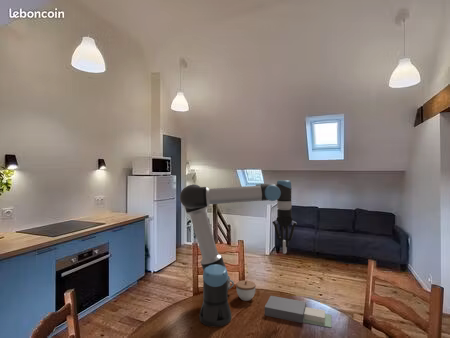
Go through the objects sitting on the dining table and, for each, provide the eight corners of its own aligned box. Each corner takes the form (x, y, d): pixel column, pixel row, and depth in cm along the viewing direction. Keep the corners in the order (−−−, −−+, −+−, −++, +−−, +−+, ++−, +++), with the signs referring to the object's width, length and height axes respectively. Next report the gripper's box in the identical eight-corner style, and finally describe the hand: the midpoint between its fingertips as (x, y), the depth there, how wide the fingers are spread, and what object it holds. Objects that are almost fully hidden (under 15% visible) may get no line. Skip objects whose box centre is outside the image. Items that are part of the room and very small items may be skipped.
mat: (303, 322, 121) (303, 321, 121) (305, 310, 131) (305, 310, 131) (331, 327, 116) (331, 327, 116) (331, 315, 126) (331, 314, 126)
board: (264, 315, 127) (264, 306, 127) (270, 303, 139) (270, 295, 139) (303, 323, 120) (302, 314, 120) (305, 309, 132) (305, 301, 132)
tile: (304, 319, 123) (304, 313, 123) (305, 311, 129) (305, 306, 129) (324, 323, 119) (324, 317, 119) (325, 315, 126) (325, 310, 126)
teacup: (208, 290, 154) (208, 277, 154) (221, 285, 162) (221, 272, 162) (225, 298, 145) (225, 283, 145) (238, 291, 153) (238, 278, 153)
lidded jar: (253, 304, 138) (253, 286, 138) (233, 301, 141) (233, 283, 142) (257, 295, 148) (257, 278, 149) (239, 292, 152) (239, 276, 152)
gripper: (297, 208, 142) (298, 252, 141) (273, 207, 147) (274, 249, 146) (295, 210, 135) (296, 256, 134) (270, 209, 140) (271, 253, 139)
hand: (284, 252), depth 140 cm, fingers closed
